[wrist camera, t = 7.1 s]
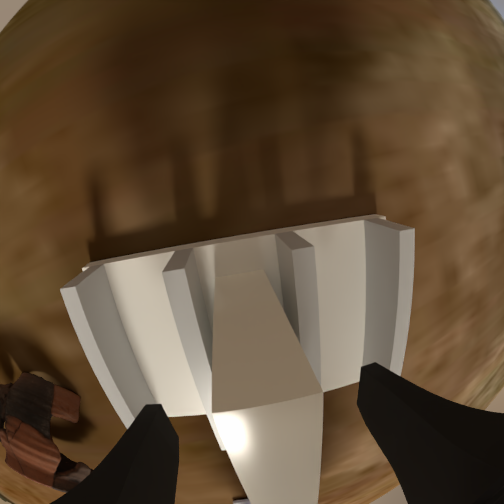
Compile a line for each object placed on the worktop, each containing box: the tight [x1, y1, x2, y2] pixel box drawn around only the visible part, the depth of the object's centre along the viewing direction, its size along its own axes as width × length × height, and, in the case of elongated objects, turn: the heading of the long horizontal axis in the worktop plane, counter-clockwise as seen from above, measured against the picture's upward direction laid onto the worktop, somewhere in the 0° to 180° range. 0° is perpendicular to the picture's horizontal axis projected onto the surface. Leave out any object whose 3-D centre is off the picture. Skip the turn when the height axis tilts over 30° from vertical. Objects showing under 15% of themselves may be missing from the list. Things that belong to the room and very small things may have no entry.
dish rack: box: [60, 214, 415, 450], centre depth 12 cm, size 10×15×4 cm, turn 98°
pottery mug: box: [0, 373, 93, 493], centre depth 12 cm, size 12×10×8 cm
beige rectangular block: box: [212, 270, 323, 504], centre depth 9 cm, size 7×2×8 cm, turn 8°
